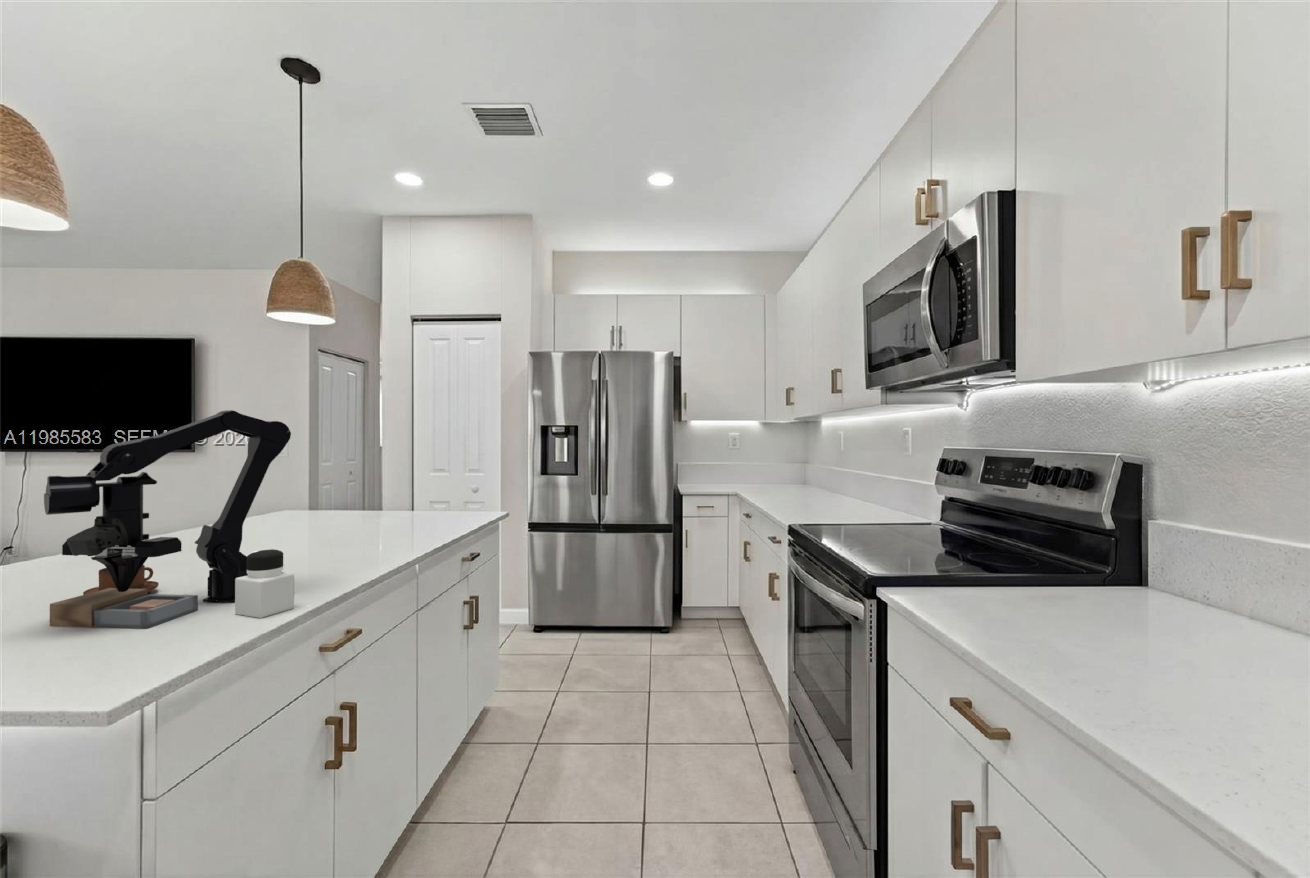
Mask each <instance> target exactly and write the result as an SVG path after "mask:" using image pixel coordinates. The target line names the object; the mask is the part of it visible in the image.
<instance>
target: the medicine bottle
mask: <svg viewBox="0 0 1310 878" xmlns="http://www.w3.org/2000/svg"><path fill="white" fill-rule="evenodd" d="M246 556H247V574H248V575H247V576H243V577H238V578H236V579H235V601H234V613H235V615H238V616H244V617H250V618H251V617H252V618H257V619H262V618H267V617H270V616H272V615H277V614H279V613H282V612H285V611H290V610H292V609H294V607H295V573H293V572H286V571H285V572H284V571H283V570H284V552H283V551H282V550H278V549H273V548H272V549H270V548H269V549H259V550H255V551H252V552H250V553H248V554H247V555H246Z"/></svg>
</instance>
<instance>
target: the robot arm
mask: <svg viewBox="0 0 1310 878" xmlns="http://www.w3.org/2000/svg"><path fill="white" fill-rule="evenodd" d="M228 431H231V432H233V433H236V434H238V435H240V436H244V437H247V438H248V442H247V457H246V460H245V462H244V464H243V466H242V468H241V470H240V472H239V474H238V477H237V479H236V481H235V484H234V486H233V487H232V490H231V491H230V494H229V496H228V498H227V499H226V502H225V505H224V507H223V508H222V512H221V513H220V516H219V517H218V519H217V520H216V521H215V522H214V523H213V524H211V525H207V524H204V525H203V526H202V528H201V532H200V535H199V537H198V538H197V539H196V540H195V541H194V544H195V545H197V546H196V550H195V552H196V555H197V556H198V558H199V559H200V560H202V561H203V562H206V564H207V565H208V567H209V569H210V570H208V577H207V597H205V598H202V602H212V603H213V602H214V603H215V602H216V603H233V602H235V579H236V578H238V577H243V576H247V575H249V574H247V555H245V554H244V553H242V552H241V546H242V541H243V526H244V523H245V520H246V518H247V516H248V514H249V512H250V509H251V508H252V505H253V503H254V501H255V498H256V496H257V493H258V491H259V489H260V487H261V485H262V483H263V481H264V479H265V476H266V473H267V472H268V469H269V467H270V464H271V463H272V462H273V461H275V459H276V458H277V457H278V456H279V455H280V454H281V452H283V450H284V448H285V447H286V446H287V444H288V443H289V441H290V440H291V437H292V432H291V430H290V429H289V426H287V424H285V423H284V422H282V421H278V420H274V421H273V420H272V421H271V420H263V419H260V418H256V417H252V416H250V415H246V414H242V413H240V412H238V411H235V410H232V409H230V410H227V409H226V410H221V411H219V412H217V413H216V414H213V415H210V416H207V417H204V418H202V419H199V420H196V421H193V422H191V423H188V424H186V425H181V426H179V427H176V428H174V429H171V430H168V431H166V432H165V431H164V432H163V433H160V434H157V435H153V436H148V437H144V438H138V439H137V438H136V439H132V440H126V441H121V442H117V443H113V444H109V445H108V446H106V447H104V448H103V449H102V451H101V453H100V457H99V462H98V463H97V464H95V465H94V467H93V468H92V469H90V470H89V472H87V474H85V475H78V476H77V475H75V476H74V475H71V476H69V475H68V476H63V475H62V476H61V475H49V476H47V481H46V482H47V483H46V485H45V493H43V505H44V512H45V514H46V516H47V515H49V516H50V515H64V514H77V513H89V512H91V511H92V508H96V507H97V506H100V502H101V501H100V500H101V491H100V490H101V488H102V515H97V516H96V517H95V518H94V525H93V526H92V527H88V528H86V529H83V530H82V531H79V532H78V533H76V534H74V535H72V536H70V537H68V538H66V540H65V541H64V543H63V544H61V548H62V549H61V550H62V551H61V555H62V556H74V557H78V556H87V557H90V558H91V560H92V561H96V562H98V563H100V564H102V565H104V566H105V568H107V570H108V571H109V573H110V575H111V577H112V579H113V581H114V583H115V586H116V588H117V590H118V591H119V592H125V591H127V590H128V589H129V587H130V585H131V584H132V582H133V580H134V578H135V577H136V575H137V573H138V572H139V570H140V568H141V567H142V565H144V564H145V563H146V562H147V560H148V558H157V557H162V556H166V555H171V554H175V553H178V552H179V553H180V552H182V541H181V539H180V538H179V537H175V536H174V537H173V536H171V537H170V536H159V537H154V538H153V537H152V538H150V534H149V533H144V520H145V519H149V518H150V512H144V485H145V486H147V485H156V484H158V481H157V480H155V479H154V478H152V477H151V476H150V475H149V474H148V473H147V471H142V472H140V474H139V475H136V476H135V475H134V476H120V475H131V474H136V473H138V472H139V471H141V470H143V469H145V468H146V467H149V466H151V465H152V464H153V463H155V462H157V461H158V460H160V459H161V458H163V457H164V456H166V455H168V454H170V453H172V452H174V451H177V450H180V449H183V448H185V447H188V446H190V445H192V444H196V443H198V442H201V441H203V440H207V439H209V438H211V437H214V436H216V435H219V434H222V433H226V432H228ZM116 477H117V479H116V481H113V482H106V481H111V480H114V479H115V478H116ZM100 481H101V482H100ZM102 481H105V482H102Z"/></svg>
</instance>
